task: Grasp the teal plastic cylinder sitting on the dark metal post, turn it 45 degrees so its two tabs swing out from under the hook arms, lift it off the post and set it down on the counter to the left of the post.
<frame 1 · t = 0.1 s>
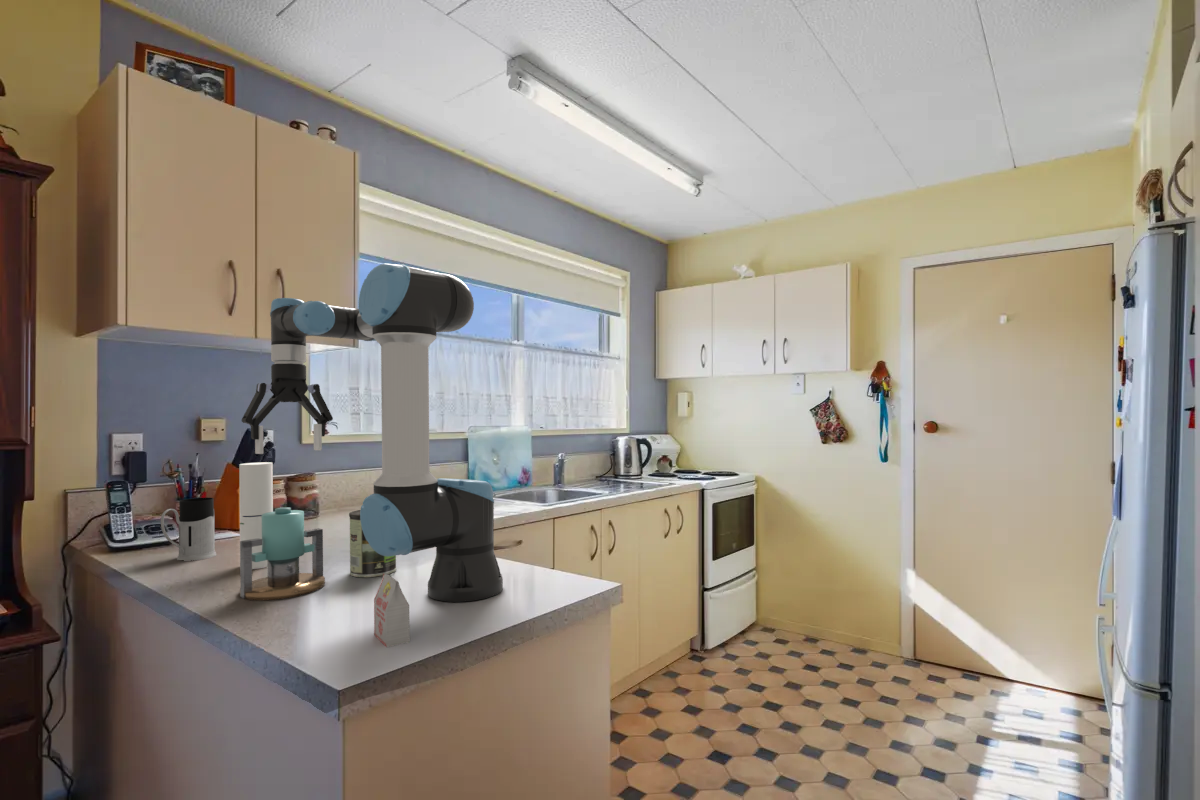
hand: (289, 452, 147), 28 cm above the counter, tool pointing down, fingers open, 13 cm apart
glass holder: (187, 560, 158), on the counter
coffee can: (373, 572, 143), on the counter
cylindrical container: (256, 566, 151), on the counter
teal plastic cylinder: (283, 555, 130), point 7 cm above the counter, touching post fixture
milk carton: (391, 639, 101), on the counter
post fixture: (283, 588, 130), on the counter
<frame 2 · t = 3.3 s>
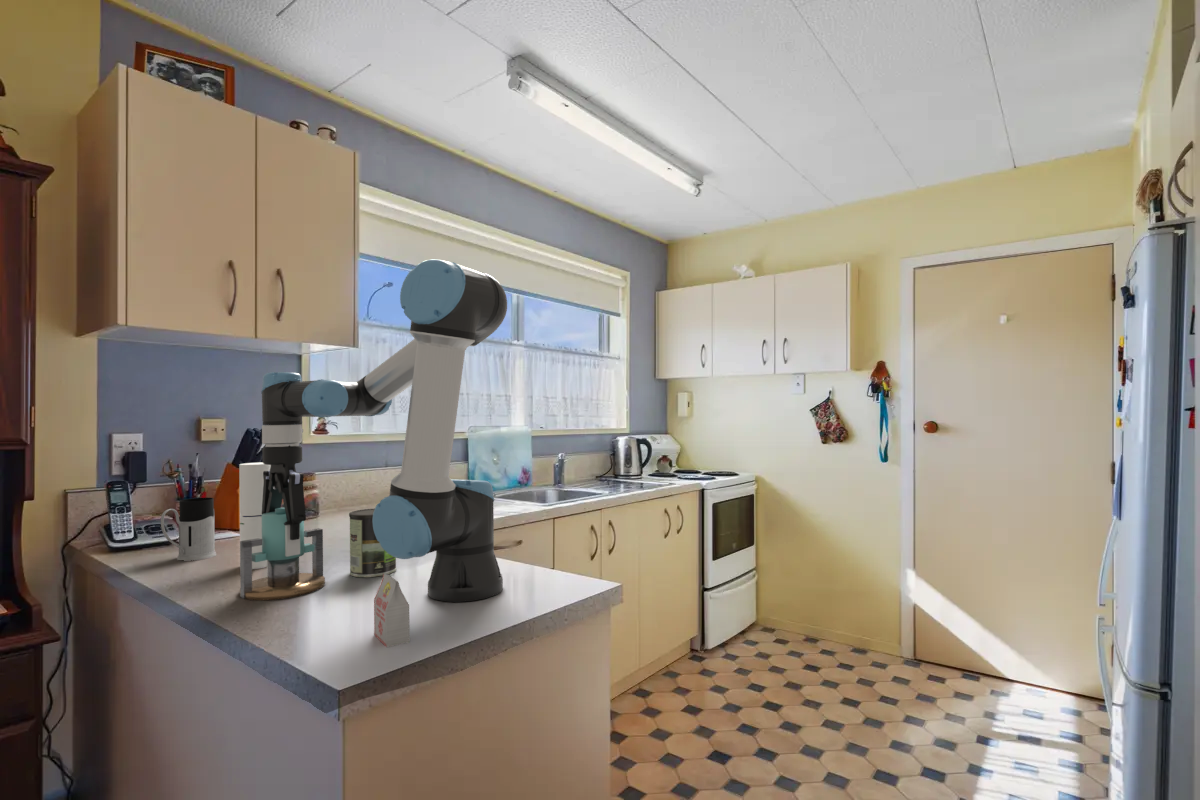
hand: (283, 552, 130), 8 cm above the counter, tool pointing down, fingers closed on teal plastic cylinder, 8 cm apart
teal plastic cylinder: (283, 555, 130), point 7 cm above the counter, touching gripper, post fixture
everything else where it was.
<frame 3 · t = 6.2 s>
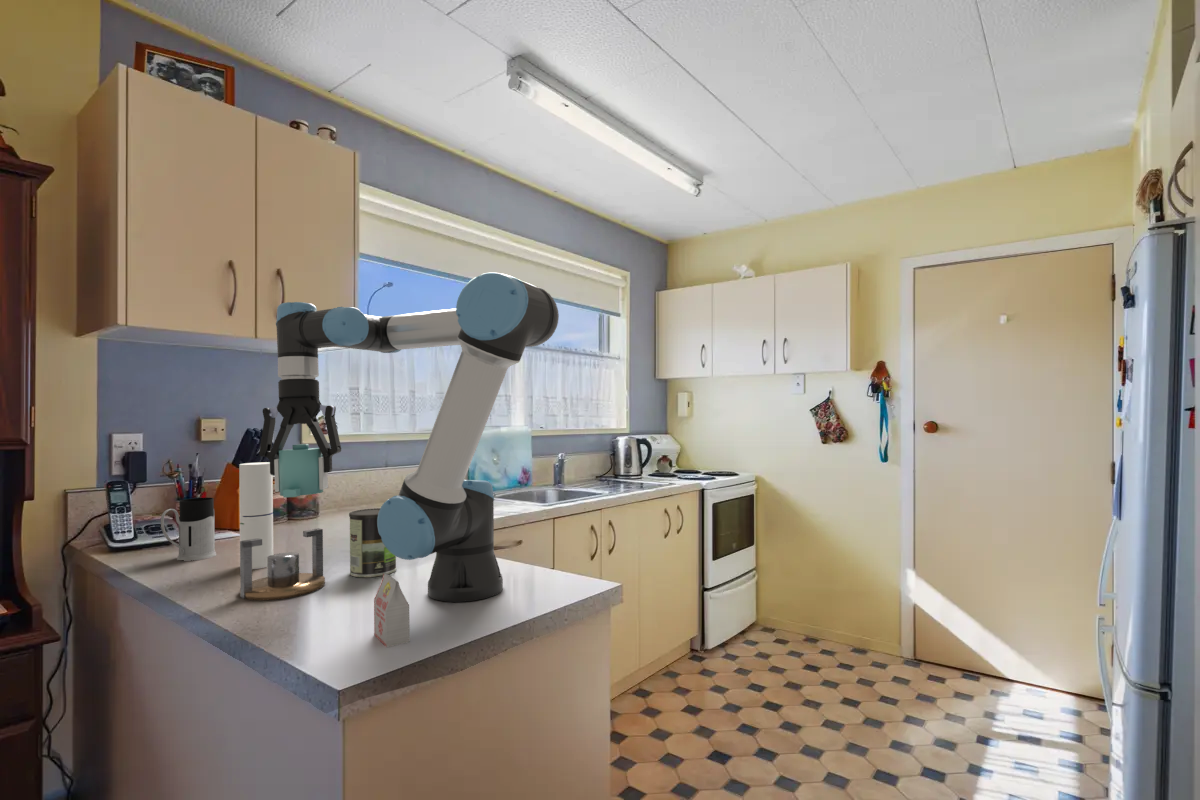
hand: (302, 489, 126), 22 cm above the counter, tool pointing down, fingers closed on teal plastic cylinder, 8 cm apart
teal plastic cylinder: (301, 493, 126), point 21 cm above the counter, touching gripper
everything else where it was.
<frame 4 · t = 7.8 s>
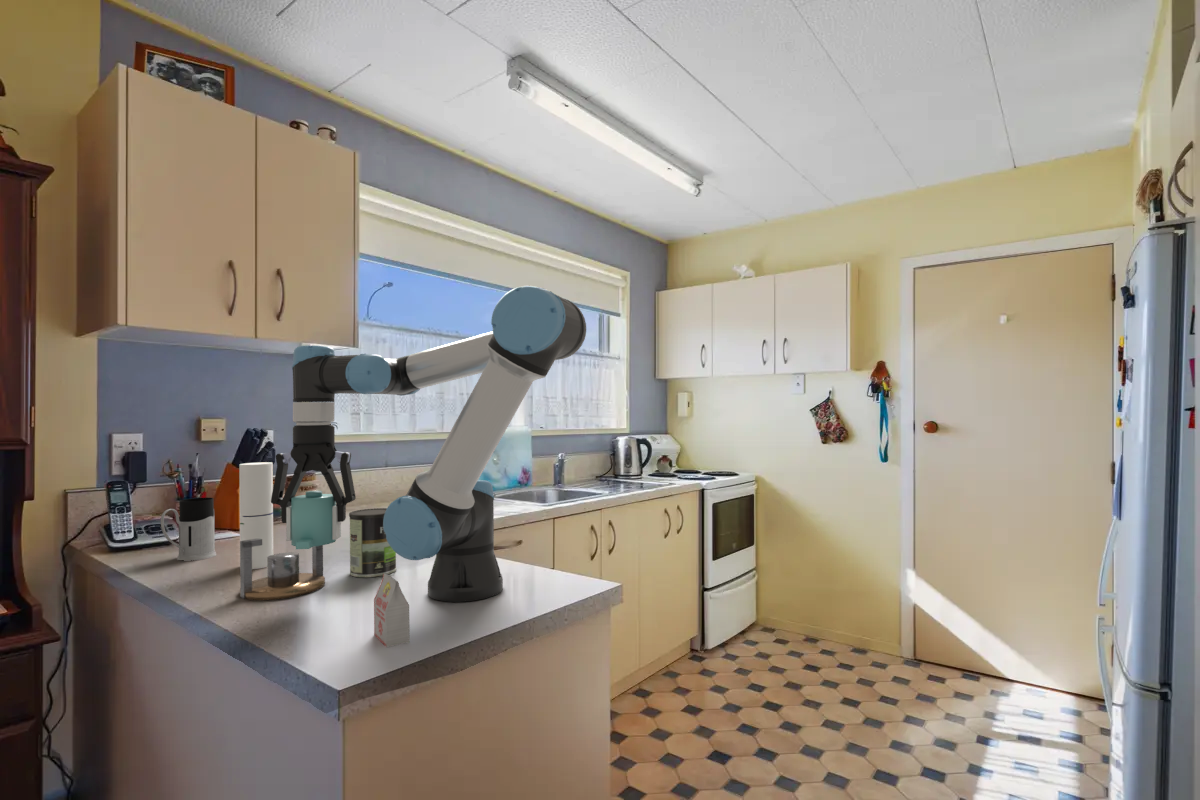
hand: (314, 538, 122), 12 cm above the counter, tool pointing down, fingers closed on teal plastic cylinder, 8 cm apart
teal plastic cylinder: (313, 542, 122), point 12 cm above the counter, touching gripper
everything else where it was.
when the fingers open (2 cm above the counter, at t = 9.4 s): teal plastic cylinder drops 1 cm, on the counter.
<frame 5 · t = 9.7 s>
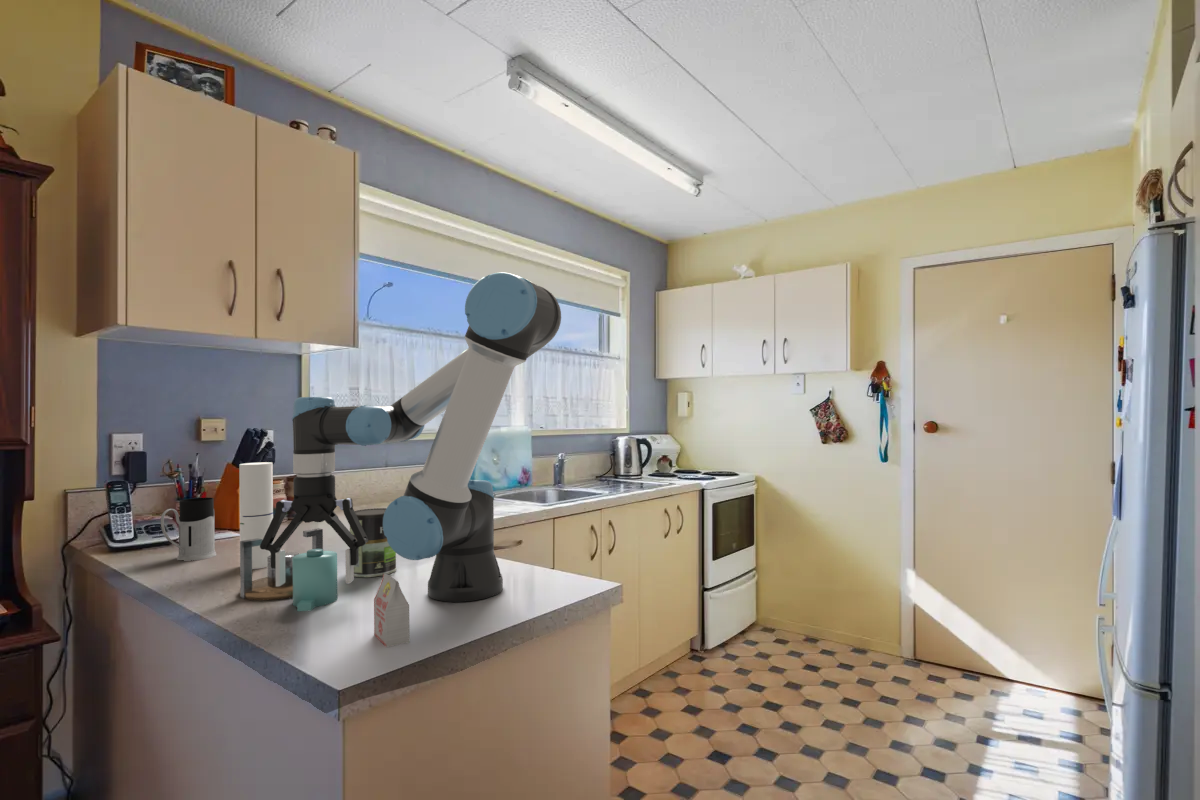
hand: (315, 583, 121), 4 cm above the counter, tool pointing down, fingers open, 12 cm apart
teal plastic cylinder: (315, 601, 121), on the counter
everything else where it was.
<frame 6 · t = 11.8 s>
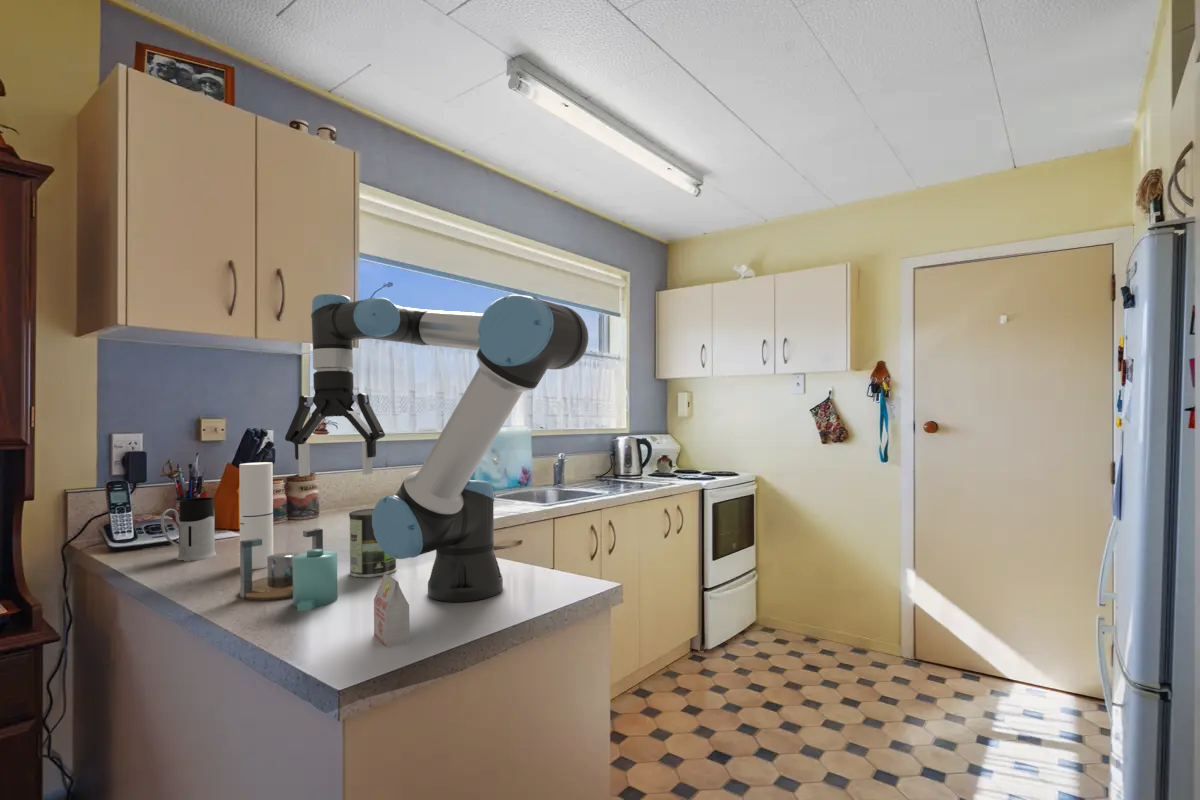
hand: (336, 475, 125), 24 cm above the counter, tool pointing down, fingers open, 13 cm apart
nothing on the counter moved.
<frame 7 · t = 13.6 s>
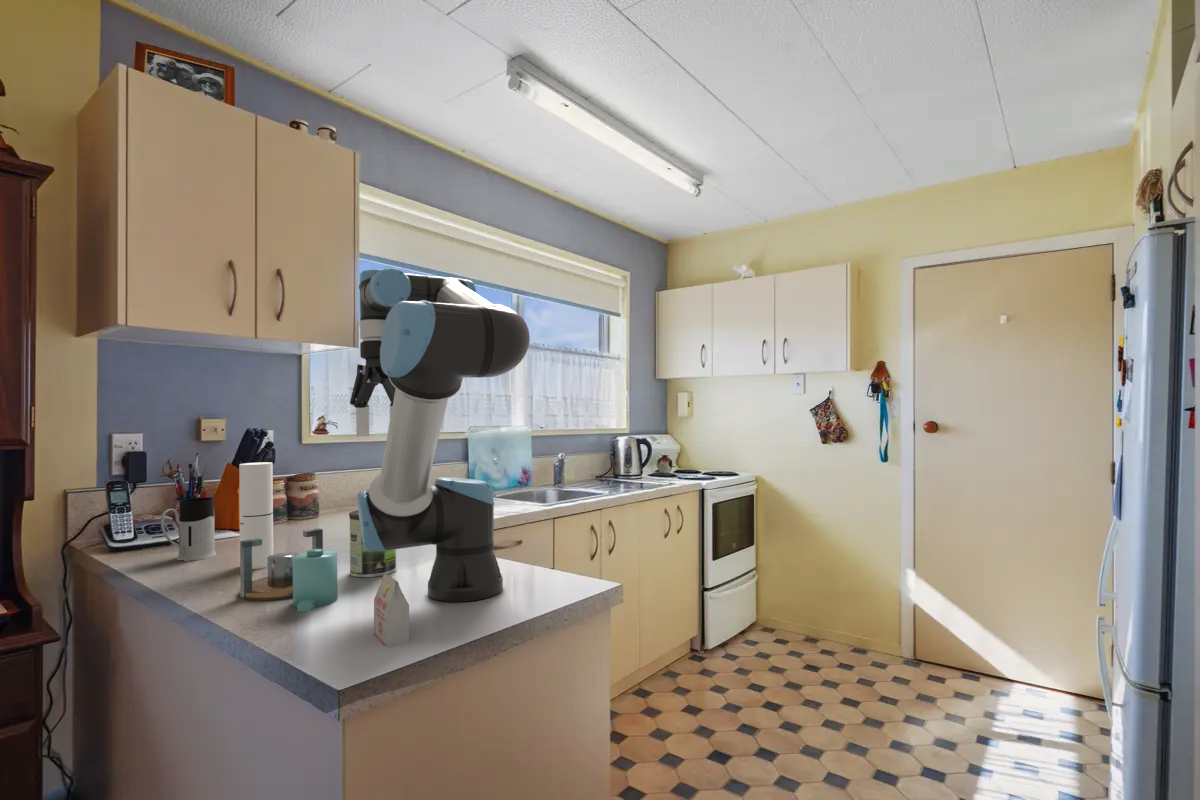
hand: (379, 436, 136), 32 cm above the counter, tool pointing down, fingers open, 13 cm apart
nothing on the counter moved.
at the end: teal plastic cylinder inside the target area (0.0 cm from its centre), on the counter; teal plastic cylinder tilted 0°; the gripper is holding nothing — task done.
